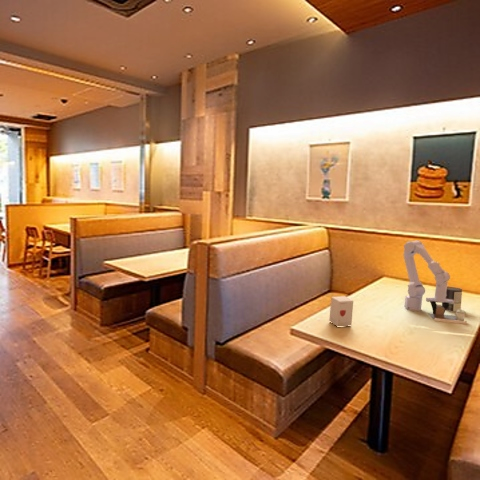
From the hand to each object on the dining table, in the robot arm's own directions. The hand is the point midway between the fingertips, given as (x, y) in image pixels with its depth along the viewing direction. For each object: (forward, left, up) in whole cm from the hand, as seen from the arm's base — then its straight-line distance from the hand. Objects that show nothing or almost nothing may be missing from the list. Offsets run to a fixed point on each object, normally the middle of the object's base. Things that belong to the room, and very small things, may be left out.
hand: (438, 314), depth 217 cm
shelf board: (+4, -3, -2) cm, 5 cm away
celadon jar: (+10, -5, -1) cm, 11 cm away
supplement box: (-59, -28, -2) cm, 65 cm away
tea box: (0, 0, -1) cm, 1 cm away
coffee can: (+13, +16, -2) cm, 20 cm away
